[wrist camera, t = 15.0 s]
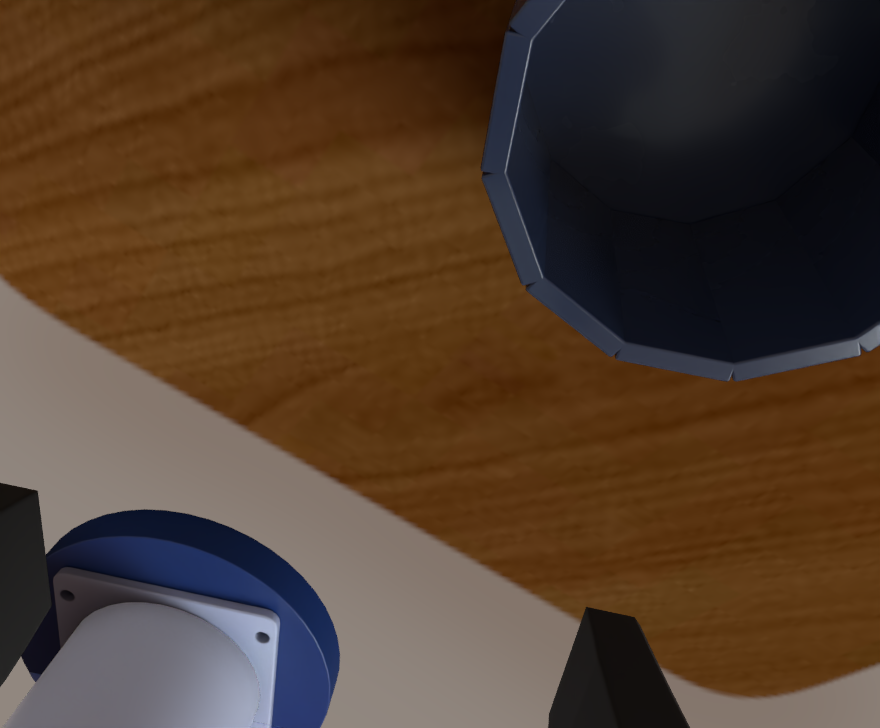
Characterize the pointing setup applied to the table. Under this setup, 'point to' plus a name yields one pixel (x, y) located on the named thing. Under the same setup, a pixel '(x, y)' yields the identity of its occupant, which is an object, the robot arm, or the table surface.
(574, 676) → the robot arm
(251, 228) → the table surface
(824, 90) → the pot
